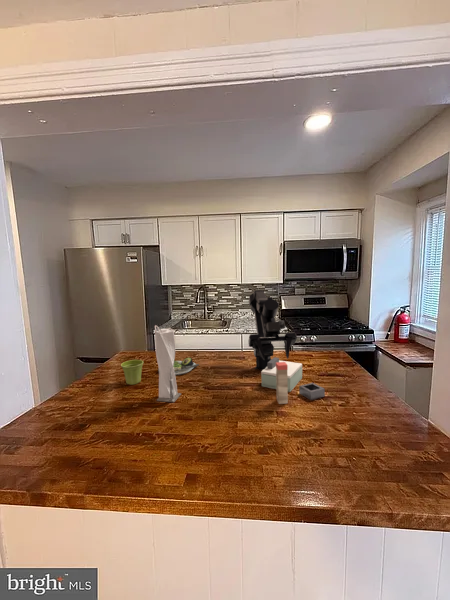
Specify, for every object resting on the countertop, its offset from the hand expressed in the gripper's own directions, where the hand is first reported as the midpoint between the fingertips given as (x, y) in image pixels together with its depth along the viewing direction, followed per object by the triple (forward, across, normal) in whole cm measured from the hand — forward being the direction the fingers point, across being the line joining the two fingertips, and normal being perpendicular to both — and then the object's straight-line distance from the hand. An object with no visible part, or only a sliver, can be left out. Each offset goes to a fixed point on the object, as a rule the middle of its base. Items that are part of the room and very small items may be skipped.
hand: (276, 358), depth 109 cm
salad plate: (-13, -41, +33) cm, 54 cm away
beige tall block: (+15, 0, +4) cm, 15 cm away
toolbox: (+3, +5, +16) cm, 17 cm away
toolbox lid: (-1, +5, +12) cm, 13 cm away
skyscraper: (+8, -42, +11) cm, 44 cm away
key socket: (+12, +12, +6) cm, 19 cm away
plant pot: (-4, -59, +23) cm, 64 cm away
